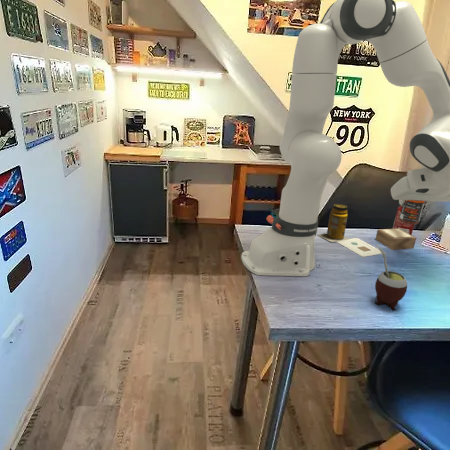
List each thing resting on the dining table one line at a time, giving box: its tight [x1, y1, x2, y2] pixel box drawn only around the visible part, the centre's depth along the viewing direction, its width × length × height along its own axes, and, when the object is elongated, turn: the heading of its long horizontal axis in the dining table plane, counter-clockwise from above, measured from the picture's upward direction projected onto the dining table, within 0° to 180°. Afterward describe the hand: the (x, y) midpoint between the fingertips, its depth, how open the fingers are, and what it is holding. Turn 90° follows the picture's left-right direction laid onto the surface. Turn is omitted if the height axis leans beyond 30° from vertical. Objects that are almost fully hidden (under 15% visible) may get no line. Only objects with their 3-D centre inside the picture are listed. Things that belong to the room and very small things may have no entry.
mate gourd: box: [374, 243, 408, 312], centre depth 86 cm, size 8×8×15 cm
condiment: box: [318, 203, 350, 243], centre depth 126 cm, size 7×8×12 cm
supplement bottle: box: [399, 200, 425, 226], centre depth 113 cm, size 6×6×11 cm
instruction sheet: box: [335, 237, 386, 258], centre depth 121 cm, size 10×13×1 cm
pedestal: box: [374, 228, 417, 251], centre depth 125 cm, size 9×9×4 cm
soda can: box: [392, 205, 415, 236], centre depth 133 cm, size 7×7×12 cm
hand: (412, 203), depth 113 cm, fingers closed on supplement bottle, 6 cm apart
